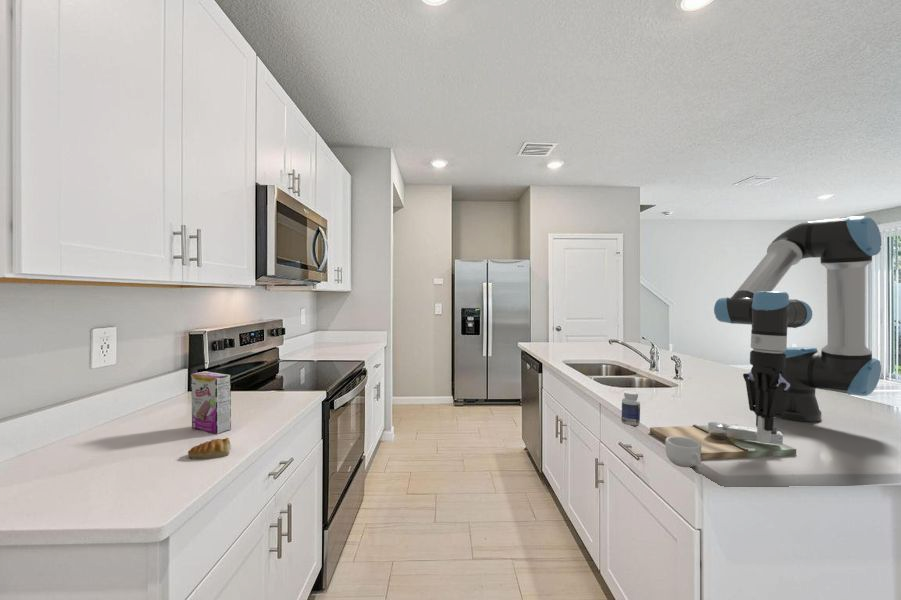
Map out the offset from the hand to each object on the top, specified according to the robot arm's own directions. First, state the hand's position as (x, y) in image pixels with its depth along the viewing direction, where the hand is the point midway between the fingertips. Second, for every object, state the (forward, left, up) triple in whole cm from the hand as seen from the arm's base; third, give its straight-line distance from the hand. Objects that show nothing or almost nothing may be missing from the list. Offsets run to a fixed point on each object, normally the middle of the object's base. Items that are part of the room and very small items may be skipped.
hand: (763, 441), depth 113 cm
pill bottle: (+21, -27, -3) cm, 35 cm away
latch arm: (+1, -5, -1) cm, 5 cm away
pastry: (+140, -14, -4) cm, 141 cm away
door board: (+6, -8, -3) cm, 11 cm away
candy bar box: (+148, -33, -3) cm, 152 cm away
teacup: (+25, +5, -4) cm, 26 cm away
